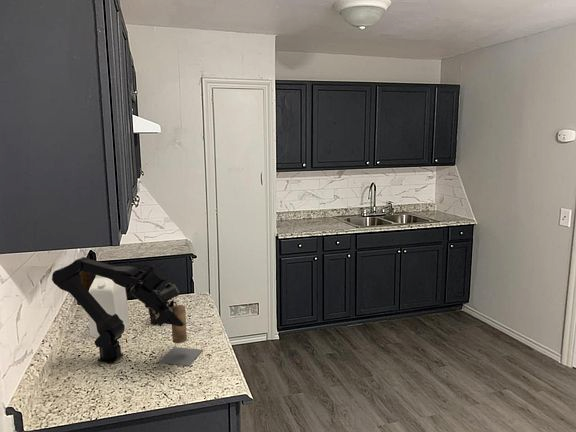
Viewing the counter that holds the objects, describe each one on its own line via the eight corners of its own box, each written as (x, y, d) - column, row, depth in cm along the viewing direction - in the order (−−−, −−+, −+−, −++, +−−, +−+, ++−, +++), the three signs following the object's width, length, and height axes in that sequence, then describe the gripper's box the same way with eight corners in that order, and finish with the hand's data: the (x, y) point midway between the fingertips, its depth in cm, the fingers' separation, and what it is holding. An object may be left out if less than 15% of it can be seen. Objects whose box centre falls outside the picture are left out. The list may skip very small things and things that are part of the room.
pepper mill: (170, 342, 161) (168, 309, 159) (176, 336, 166) (174, 304, 163) (183, 343, 160) (181, 310, 157) (189, 337, 164) (187, 305, 162)
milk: (130, 325, 193) (125, 266, 189) (118, 336, 182) (112, 274, 178) (103, 324, 194) (98, 266, 190) (89, 336, 183) (83, 274, 179)
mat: (157, 362, 159) (157, 362, 159) (173, 347, 171) (173, 347, 171) (189, 366, 156) (189, 365, 156) (203, 350, 168) (203, 349, 168)
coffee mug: (144, 324, 193) (142, 302, 191) (155, 317, 201) (153, 295, 200) (169, 326, 190) (167, 304, 189) (178, 319, 198) (177, 297, 197)
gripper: (164, 287, 149) (199, 315, 153) (164, 271, 167) (196, 297, 171) (140, 312, 148) (177, 339, 153) (143, 294, 166) (176, 319, 171)
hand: (182, 322), depth 162 cm, fingers closed on pepper mill, 5 cm apart
